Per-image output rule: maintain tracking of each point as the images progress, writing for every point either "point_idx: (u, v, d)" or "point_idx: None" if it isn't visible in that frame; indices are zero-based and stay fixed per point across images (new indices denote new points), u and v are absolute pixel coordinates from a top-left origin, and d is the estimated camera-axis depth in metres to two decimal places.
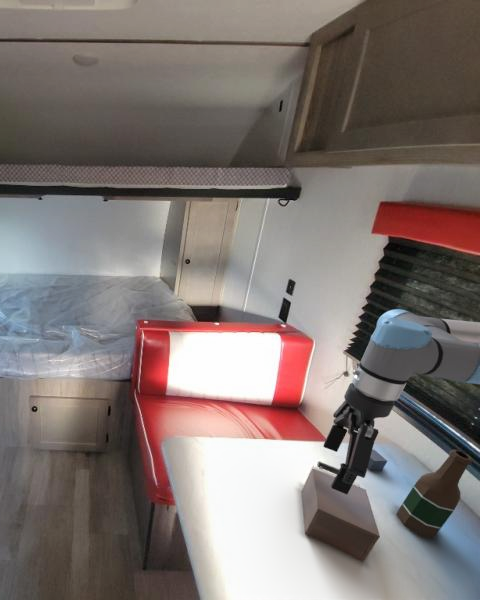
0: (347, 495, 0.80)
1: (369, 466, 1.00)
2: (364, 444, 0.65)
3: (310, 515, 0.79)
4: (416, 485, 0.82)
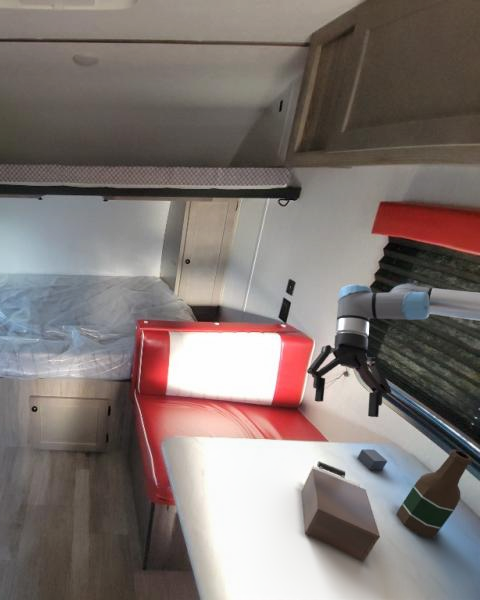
0: (347, 495, 0.80)
1: (369, 466, 1.00)
2: (320, 355, 0.97)
3: (310, 515, 0.79)
4: (416, 485, 0.82)
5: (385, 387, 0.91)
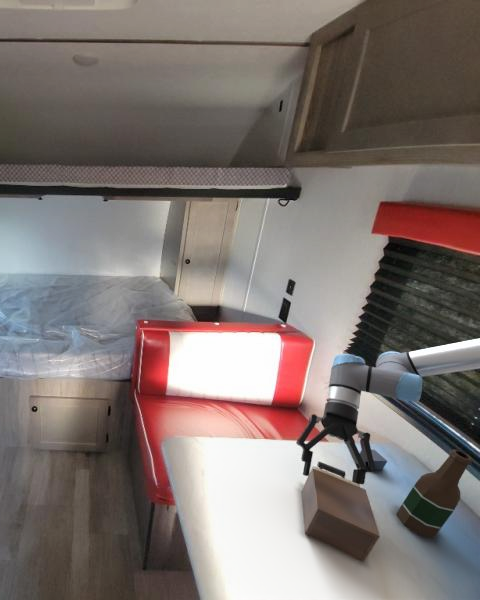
0: (347, 495, 0.80)
1: None
2: (307, 425, 0.96)
3: (310, 515, 0.79)
4: (416, 485, 0.82)
5: (369, 465, 0.88)
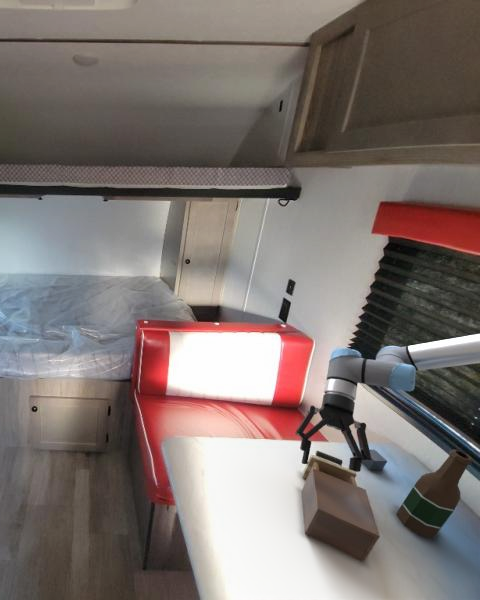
0: (347, 495, 0.80)
1: (369, 466, 1.00)
2: (306, 416, 1.00)
3: (310, 515, 0.79)
4: (416, 485, 0.82)
5: (365, 453, 0.92)
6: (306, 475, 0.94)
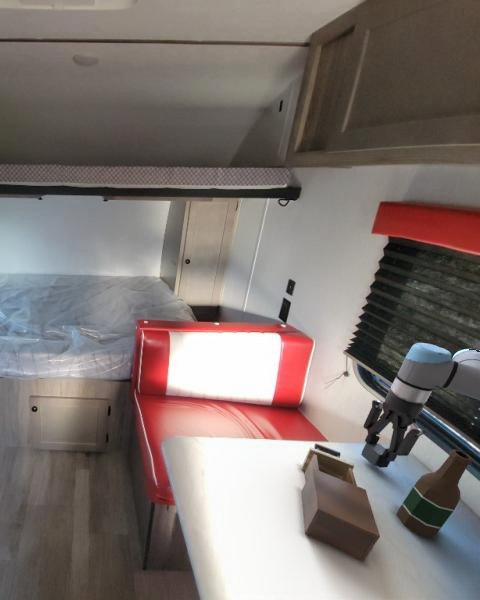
0: (347, 495, 0.80)
1: (374, 460, 0.99)
2: None
3: (310, 515, 0.79)
4: (416, 485, 0.82)
5: (398, 449, 0.93)
6: (305, 467, 0.97)
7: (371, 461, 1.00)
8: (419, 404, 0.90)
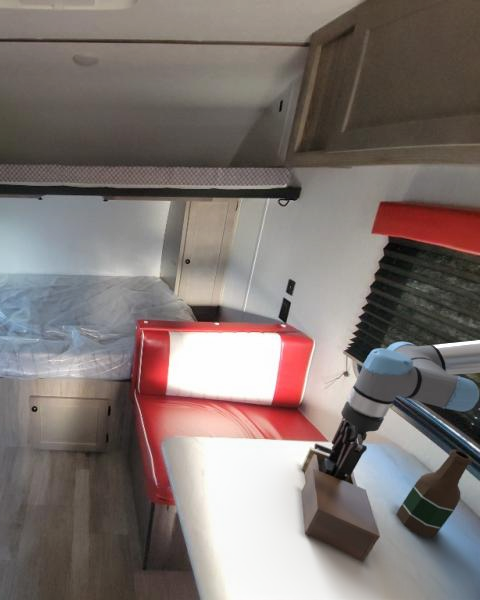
0: (347, 495, 0.80)
1: None
2: None
3: (310, 515, 0.79)
4: (416, 485, 0.82)
5: None
6: (305, 467, 0.97)
7: None
8: (368, 417, 0.79)
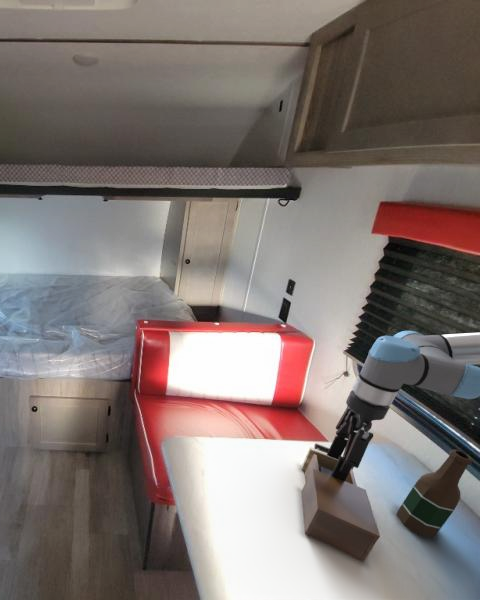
0: (347, 495, 0.80)
1: None
2: None
3: (310, 515, 0.79)
4: (416, 485, 0.82)
5: None
6: (305, 467, 0.97)
7: None
8: (373, 405, 0.78)
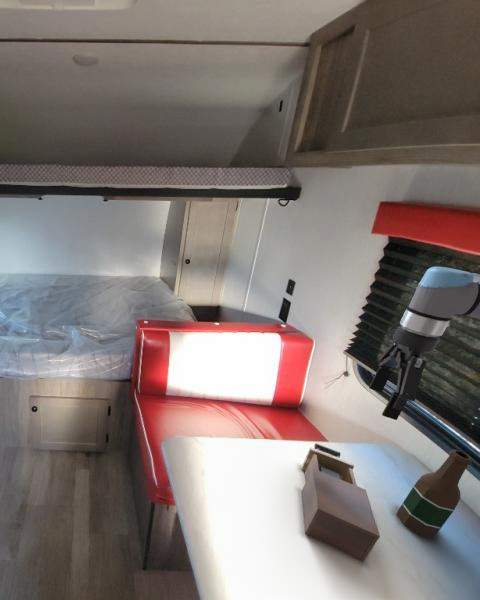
0: (347, 495, 0.80)
1: None
2: None
3: (310, 515, 0.79)
4: (416, 485, 0.82)
5: None
6: (305, 467, 0.97)
7: None
8: (424, 336, 0.77)
